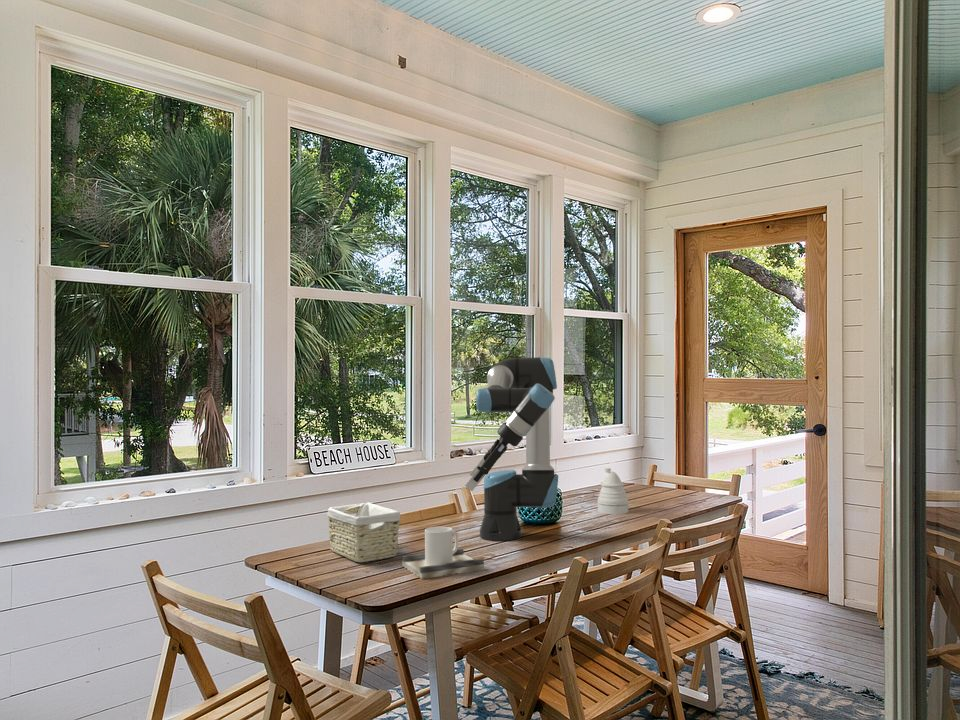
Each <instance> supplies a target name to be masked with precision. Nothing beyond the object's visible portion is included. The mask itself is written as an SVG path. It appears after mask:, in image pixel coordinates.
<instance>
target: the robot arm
mask: <svg viewBox="0 0 960 720" xmlns="http://www.w3.org/2000/svg"><path fill="white" fill-rule="evenodd" d="M555 369H556V368H555V364H554V361H553V359H552V358H550V357H540V356H538V357H511V358H506V359H505V358H504V359H503V360H501V361H498V362H497V363H495V364H494V365H492V366H491V368H490V369H488V371H487V376H486V381H487V383H486V387H484V388H478V389H477V390H476V394H475V395H476V397H475V399H476V400H475V402H476V409H477V410H476V411H478V412H480V413H508V417H507V418H506V419H505V422H502V424H501V425H500V427H498V429H497V434H498V435H499V438H497V439H496V440H495V442H494V443H493V445H492V446H491V447H490V448H489V449H488V451H487V452H486V453H485V454H484V456H483V457H482V458H481V460H480V461H479V462H478V463H477V465H475V467H474V468H473V469H472V470H471V471H470V473H469V476H471V477H470V478H469V479H468V480H467V482H466V483H465V485H464V487H466V489H468V490H469V491H471V492H473V491H474V490H475V489H476V487H477V486H478V485H479V484H480V483H481V481H482V480H483V479H484V481H483V482H484V484H483V492H484V494H483V496H484V497H483V501H484V502H483V505H484V511H483V512H484V515H483V519H482V520H481V526H480V529H479V537H480V538H481V539H483V540H487V541H488V540H489V541H494V542H495V541H496V542H497V541H498V542H499V541H501V542H502V541H504V542H505V541H512V540H513V541H514V540H518V539H520V538H521V537H522V535H523V533H522V532H523V531H522V527H521V524H520V521H519V518H518V515H517V508H541V509H542V508H551V507H552V508H553V507H554V506H555V504H556V501H557V495H558V485H559V484H558V483H559V474H557V473H555V468H554V467H553V466H552V465H551V446H550V445H551V443H550V442H551V441H550V434H551V433H550V408H551V406H552V404H553V402H555V399H556V398H555V394H554V390H557V387H558V386H557V385H558V384H557V377H556V371H555ZM524 437H525V460H526V462H525V466H524V467H523V468H522V469H521V474H520V473H519V474H517V472H516V470H515V469H505V470H498V471H493V472H490V471H491V469H492V468H493V467H494V466H495V464H496V463H497V461H498V460H499V459H500V458H501V457H502V456H503V454H505V453H506V451H507V450H508V445H511V446H513V447H517V446H518V445H519V444H520V443H521V441H522V440H523V439H524ZM489 472H490V473H489Z"/></svg>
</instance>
